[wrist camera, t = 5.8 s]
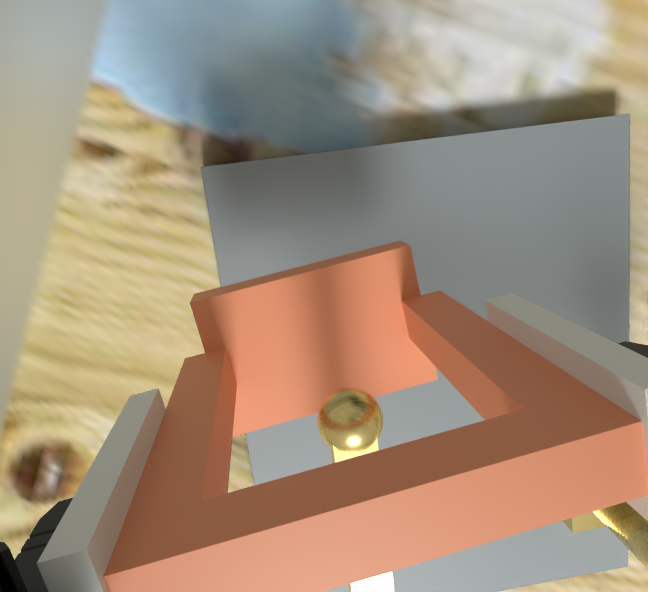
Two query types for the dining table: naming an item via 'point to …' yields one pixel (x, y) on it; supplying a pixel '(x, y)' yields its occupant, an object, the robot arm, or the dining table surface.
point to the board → (448, 281)
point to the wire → (362, 438)
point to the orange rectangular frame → (369, 469)
